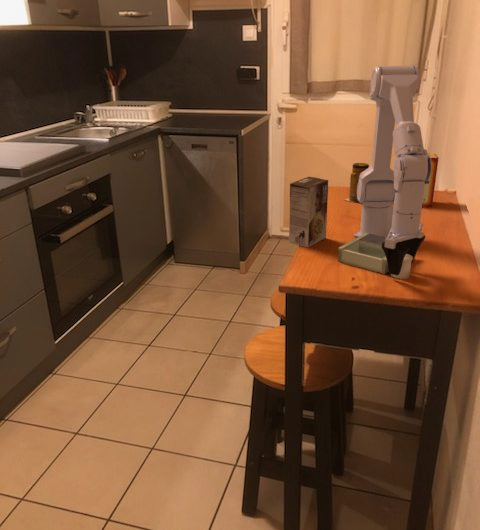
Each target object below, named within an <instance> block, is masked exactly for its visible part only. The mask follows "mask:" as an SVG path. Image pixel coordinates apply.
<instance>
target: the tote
mask: <svg viewBox="0 0 480 530" xmlns="http://www.w3.org/2000/svg"><path fill="white" fill-rule="evenodd" d="M367 234H369V233H365V234H363V235H361V236H359V237H356V238H354V239H352V240H350V241H348V242H346V243H344V244H343V245H340V246H339V247H338V249H337V250H338V262H339V263H343V264H346V265H350V266H353V267H356V268H361V269H363V270H368V271H371V272H374V273H378V272H380V273H379V274H381V273H383V274H382V275H386V274H388V273H389V272H388V271H389V270H388V264H387V259H386V257H384V258H383V259H381V258H377V257H373V256H369V255H365V254H361V253H358V251H359V239H360V238H362V237H364V236H366V235H367ZM385 273H386V274H385Z"/></svg>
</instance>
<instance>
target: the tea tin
mask: <svg viewBox="0 0 480 530" xmlns="http://www.w3.org/2000/svg"><path fill="white" fill-rule="evenodd" d="M386 238H387V237H382V236H378V235H374V234H367V235H366V236H364V237H362V238H360V239H359V251H358V253H361V254H365V255H369V256H373V257H377V258H381V259H383V258H384V257H386V255H385V253H384V251H383V249H382V243H383V242H384V241H385V239H386Z"/></svg>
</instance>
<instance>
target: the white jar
mask: <svg viewBox="0 0 480 530" xmlns="http://www.w3.org/2000/svg"><path fill="white" fill-rule="evenodd" d="M412 260H413V257H412V256H411V255H409V254H406V255H405V257H404V260H403V263H402V267H401V271H400V273H399V275H393V274H390V273H389V275H391V276H390V277H392V276H393V277H395V278H394V279H396V278H400V279H399V280H407V279H409V278H410V277H409V276H411V269H412V268H411V267H412V265H411V261H412ZM393 277H392V278H393ZM406 278H407V279H406Z"/></svg>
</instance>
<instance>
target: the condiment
mask: <svg viewBox="0 0 480 530" xmlns="http://www.w3.org/2000/svg"><path fill="white" fill-rule="evenodd" d="M369 167H370V165H369V164H368V163H366V162H356V163H353V164H352V169H351V172H350V178H349V180H350V182H349V193H348V194H349V195H348V196H349V197H348V198H345V199H344V201H347V202H351V203H352V202H353V203H358V204H361V203H360V202H359V201H358V199H357V185H358V182H359V176H360V173H362V172H363V171H365V170H366V169H368V168H369Z"/></svg>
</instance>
